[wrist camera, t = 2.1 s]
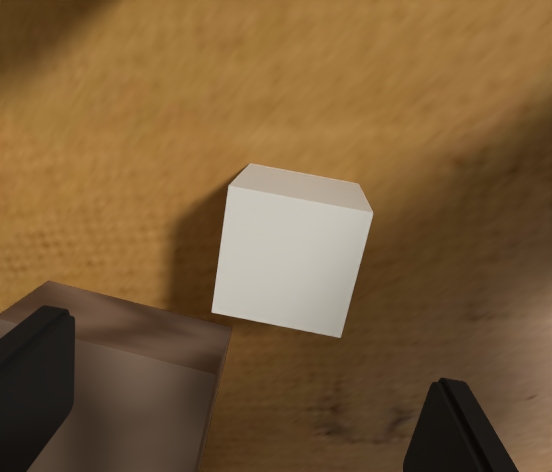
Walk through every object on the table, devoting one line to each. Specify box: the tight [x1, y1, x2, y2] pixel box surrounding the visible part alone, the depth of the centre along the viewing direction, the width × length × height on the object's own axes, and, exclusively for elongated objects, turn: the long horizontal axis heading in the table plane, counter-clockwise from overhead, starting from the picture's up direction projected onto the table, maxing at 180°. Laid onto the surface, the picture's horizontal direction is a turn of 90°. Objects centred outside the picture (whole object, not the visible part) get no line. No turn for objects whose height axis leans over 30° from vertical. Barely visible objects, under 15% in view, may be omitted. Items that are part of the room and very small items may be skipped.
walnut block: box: [0, 281, 232, 472], centre depth 26 cm, size 12×14×5 cm
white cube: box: [212, 163, 373, 338], centre depth 20 cm, size 6×6×6 cm
